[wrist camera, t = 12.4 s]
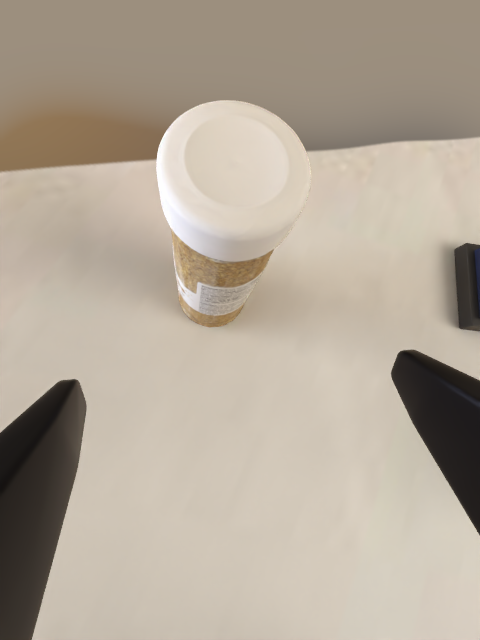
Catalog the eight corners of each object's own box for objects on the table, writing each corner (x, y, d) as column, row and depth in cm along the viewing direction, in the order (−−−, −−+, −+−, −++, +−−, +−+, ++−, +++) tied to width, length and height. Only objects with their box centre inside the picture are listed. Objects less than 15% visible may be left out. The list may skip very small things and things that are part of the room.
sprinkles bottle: (177, 265, 22) (153, 85, 9) (242, 265, 23) (307, 97, 10) (179, 330, 21) (154, 234, 8) (247, 328, 22) (325, 235, 9)
